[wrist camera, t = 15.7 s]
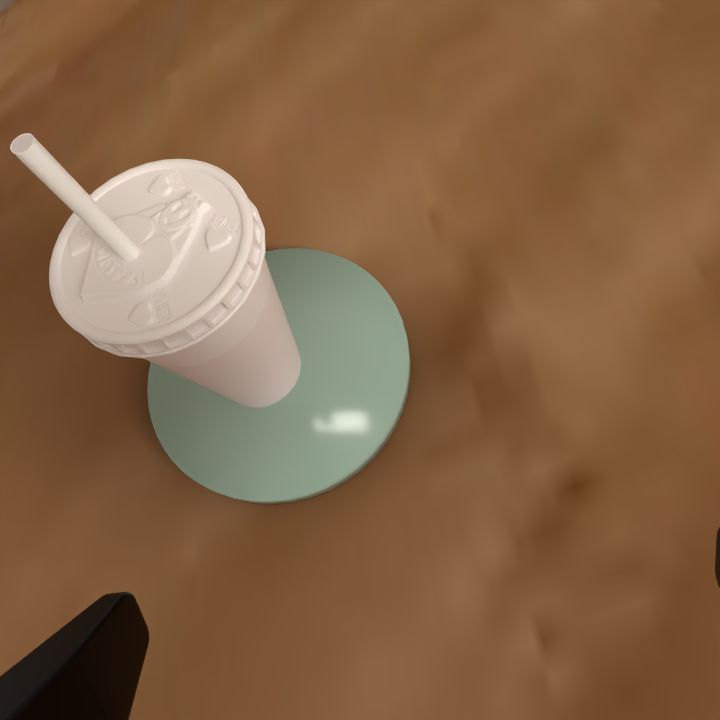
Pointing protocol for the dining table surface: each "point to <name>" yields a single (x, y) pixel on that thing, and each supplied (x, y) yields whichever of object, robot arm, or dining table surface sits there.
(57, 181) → the smoothie
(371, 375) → the green dish
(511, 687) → the dining table surface
